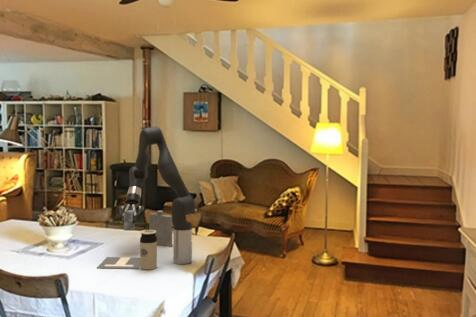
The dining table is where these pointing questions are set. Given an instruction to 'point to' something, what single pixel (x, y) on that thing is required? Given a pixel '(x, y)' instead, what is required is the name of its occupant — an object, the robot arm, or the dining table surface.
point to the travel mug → (148, 250)
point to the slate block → (128, 220)
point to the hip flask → (161, 227)
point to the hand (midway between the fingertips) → (128, 222)
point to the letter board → (120, 263)
